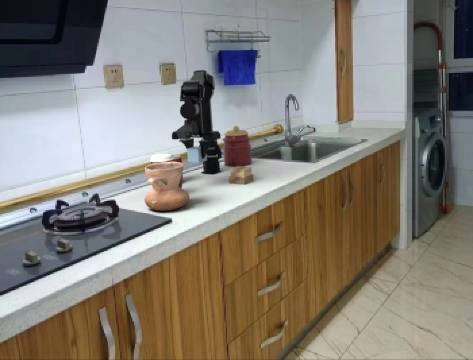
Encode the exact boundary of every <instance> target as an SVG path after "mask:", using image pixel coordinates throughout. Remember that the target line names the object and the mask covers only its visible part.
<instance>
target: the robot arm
mask: <svg viewBox="0 0 473 360" xmlns="http://www.w3.org/2000/svg"><path fill="white" fill-rule="evenodd" d="M215 90H216V83H215V78H214V76H213V75H211V74H210V73H208V71H207V70H205V69H201V70H199V69H198V70H194V71H193V75H192V76H191V78H190V79H188V80H185V81H183V82H182V84H181V85H180V95H179V96H180V97H179V102H183V104H181V106H180V108H179V113H180V116H181V117H182V118H183V119H184V123H183V125H181V126H180V127H179V128H178V129H176V130H175V131H172V132H171V139H172V140H178V142H179V143H181V144H183V145H184V147H185V149H186V150H187V149H188V148H192V147H195V145H194V144H195V139H200V140H199V141H197V142H198V143H199V145H198V147H201V156H202V159H204V158H205V156H206V154H207V160H206V161H203V162H202V168H203V169H202V170H203V171H201V172H200V173H201V174H208V175H215V174H217V173H221V172H222V169H221V165H220V164H221V163H220V159H222V158H223V156H222V151H221V150H222V148H221V147H220V144H218V143H219V142H218V140H220V139H222V137H221V136H222V135H221V133H220V131H219V130H214V126H213V113H212V99H213V96H214V95H215Z"/></svg>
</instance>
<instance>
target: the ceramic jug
mask: <svg viewBox="0 0 473 360" xmlns="http://www.w3.org/2000/svg"><path fill="white" fill-rule="evenodd" d="M144 172H145V176H146V177H147V179H148V180H147V181H146V184H147V185H150V186H151V187H152V189H151V191H149V192H148V193H146V195H145V197H144V203H145V205H146V207H148V208H149V209H152V210H154V211H161V212H166V211H172V210H177V209H179V208H182V207H184V206H185V205H186V204H188V202H189V200H190V195H189V193H188V192H187V191H186V190H185V189H183V182H184V173H183V172H184V164H183V162H182V163H179V162H162V163H155V164H151V163H150V164H148V165H146V166H145V167H144Z"/></svg>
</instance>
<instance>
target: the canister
mask: <svg viewBox="0 0 473 360" xmlns="http://www.w3.org/2000/svg"><path fill="white" fill-rule="evenodd" d="M249 134H250V133H249V132H248V131H246V130H245V129H240V127H239V126H237V125H234V126H233V127H232V130H227V131H226V132H225V133H224V134H223V136H224V137H223V138H222V141H223V147H222V148H223V163H224V166H227V167H237V166H243V167H245V166H248V165H251V164H252V162H253V161H252V160H253V159H252V157H253V156H252V144H251V141H250V140H251V139H252V138H251V136H249Z"/></svg>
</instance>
